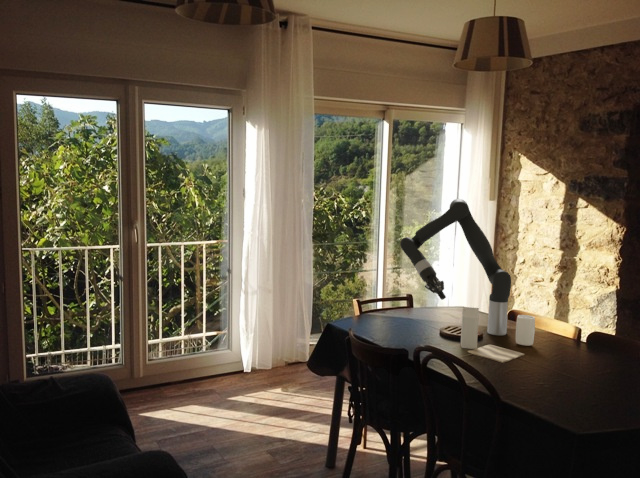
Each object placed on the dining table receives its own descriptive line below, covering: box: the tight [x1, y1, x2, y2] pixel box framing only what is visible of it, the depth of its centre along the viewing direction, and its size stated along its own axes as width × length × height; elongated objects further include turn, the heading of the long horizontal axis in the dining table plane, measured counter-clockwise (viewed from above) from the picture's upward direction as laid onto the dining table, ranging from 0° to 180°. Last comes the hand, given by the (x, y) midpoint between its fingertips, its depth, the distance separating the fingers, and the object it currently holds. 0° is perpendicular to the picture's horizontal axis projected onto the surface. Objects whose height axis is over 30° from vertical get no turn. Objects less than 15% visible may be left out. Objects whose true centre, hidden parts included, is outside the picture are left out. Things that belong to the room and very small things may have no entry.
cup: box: [515, 314, 536, 346], centre depth 270 cm, size 8×8×14 cm
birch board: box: [467, 344, 525, 364], centre depth 256 cm, size 18×18×1 cm
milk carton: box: [460, 306, 480, 350], centre depth 265 cm, size 7×7×19 cm
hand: (443, 298), depth 276 cm, fingers closed
